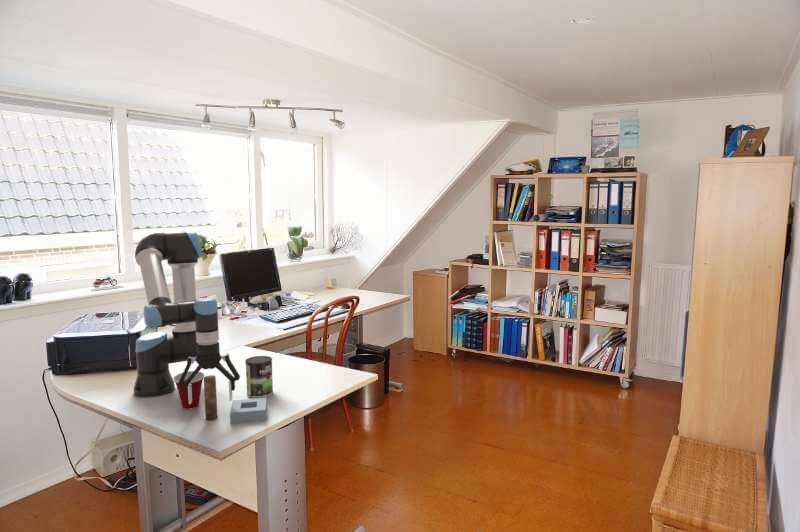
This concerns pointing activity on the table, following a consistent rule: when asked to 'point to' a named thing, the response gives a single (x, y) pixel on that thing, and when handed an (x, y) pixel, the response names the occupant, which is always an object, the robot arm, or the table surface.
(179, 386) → the plastic cup
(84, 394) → the table surface
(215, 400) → the peg
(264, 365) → the coffee can
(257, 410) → the socket block
